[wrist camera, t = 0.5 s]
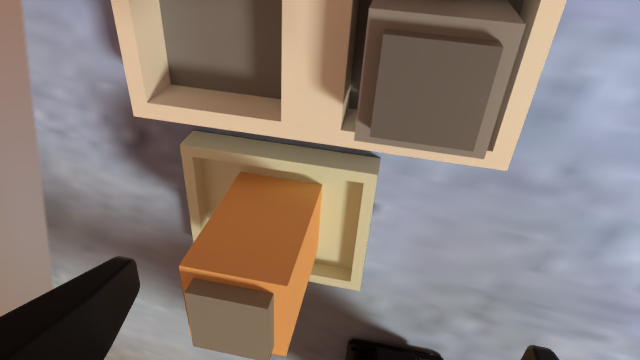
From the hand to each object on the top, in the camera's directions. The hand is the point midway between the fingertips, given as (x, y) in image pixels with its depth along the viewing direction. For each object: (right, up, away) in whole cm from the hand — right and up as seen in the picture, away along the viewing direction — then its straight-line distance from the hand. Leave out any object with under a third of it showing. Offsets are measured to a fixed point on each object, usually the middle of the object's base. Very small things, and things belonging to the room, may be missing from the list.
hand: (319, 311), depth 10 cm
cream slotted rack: (0, +9, +9) cm, 13 cm away
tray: (-2, +2, +15) cm, 15 cm away
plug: (-2, +1, +15) cm, 15 cm away
